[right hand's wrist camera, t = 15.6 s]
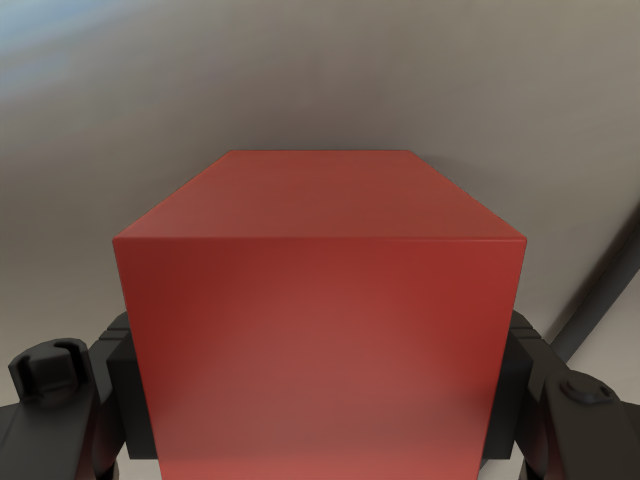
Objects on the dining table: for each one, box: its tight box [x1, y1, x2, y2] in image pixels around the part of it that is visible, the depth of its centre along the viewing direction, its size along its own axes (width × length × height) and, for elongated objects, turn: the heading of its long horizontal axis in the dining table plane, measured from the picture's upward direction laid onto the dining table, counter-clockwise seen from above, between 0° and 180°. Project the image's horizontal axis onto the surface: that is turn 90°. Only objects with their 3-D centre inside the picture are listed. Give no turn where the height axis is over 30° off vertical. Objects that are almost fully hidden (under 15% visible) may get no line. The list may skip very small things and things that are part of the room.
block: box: [112, 150, 527, 480], centre depth 12 cm, size 8×7×9 cm
